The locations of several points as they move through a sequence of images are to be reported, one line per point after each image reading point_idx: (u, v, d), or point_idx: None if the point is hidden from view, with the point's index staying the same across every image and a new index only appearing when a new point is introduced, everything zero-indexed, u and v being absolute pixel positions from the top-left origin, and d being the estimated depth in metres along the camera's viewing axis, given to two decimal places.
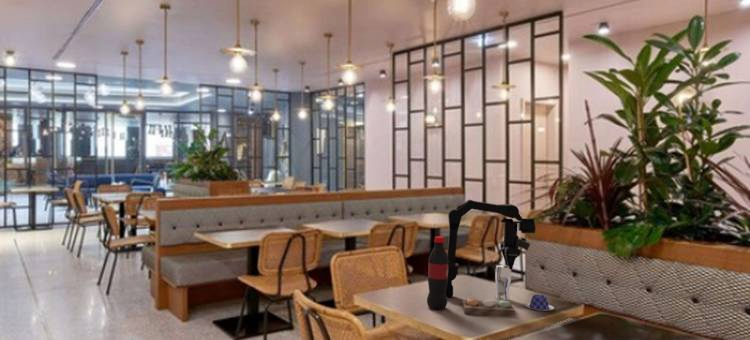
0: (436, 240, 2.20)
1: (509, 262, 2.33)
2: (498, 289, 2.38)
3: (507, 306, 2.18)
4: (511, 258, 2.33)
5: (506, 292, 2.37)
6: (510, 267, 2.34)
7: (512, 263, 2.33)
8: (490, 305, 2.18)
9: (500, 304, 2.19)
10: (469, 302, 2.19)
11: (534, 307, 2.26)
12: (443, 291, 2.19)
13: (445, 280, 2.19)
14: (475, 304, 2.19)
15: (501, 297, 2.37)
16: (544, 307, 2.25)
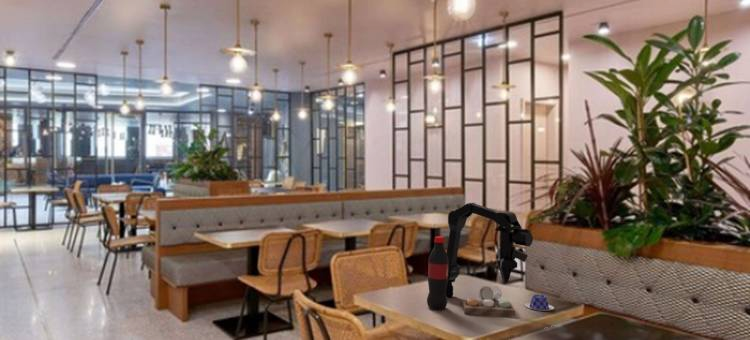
0: (436, 240, 2.20)
1: (504, 275, 2.15)
2: None
3: (507, 306, 2.18)
4: (507, 270, 2.15)
5: (498, 292, 2.34)
6: (506, 280, 2.16)
7: (507, 276, 2.15)
8: (490, 305, 2.18)
9: (500, 304, 2.19)
10: (469, 302, 2.19)
11: (534, 307, 2.26)
12: (443, 291, 2.19)
13: (445, 280, 2.19)
14: (475, 304, 2.19)
15: (499, 297, 2.36)
16: (544, 307, 2.25)
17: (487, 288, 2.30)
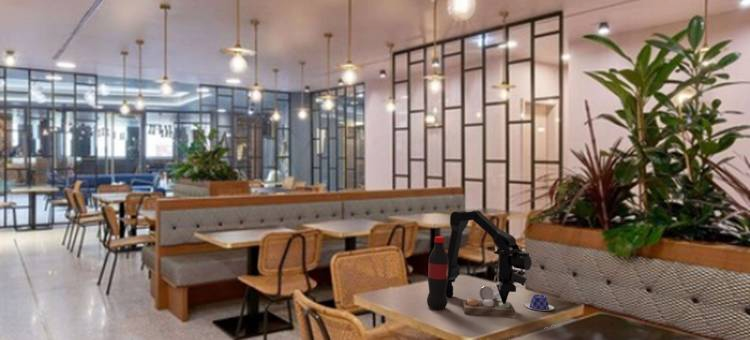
0: (436, 240, 2.20)
1: (502, 296, 2.19)
2: None
3: None
4: (504, 292, 2.18)
5: None
6: (503, 301, 2.19)
7: (505, 297, 2.19)
8: (490, 305, 2.18)
9: (500, 306, 2.19)
10: (469, 302, 2.19)
11: (534, 307, 2.26)
12: (443, 291, 2.19)
13: (445, 280, 2.19)
14: (475, 304, 2.19)
15: (499, 297, 2.36)
16: (544, 307, 2.25)
17: (487, 288, 2.30)
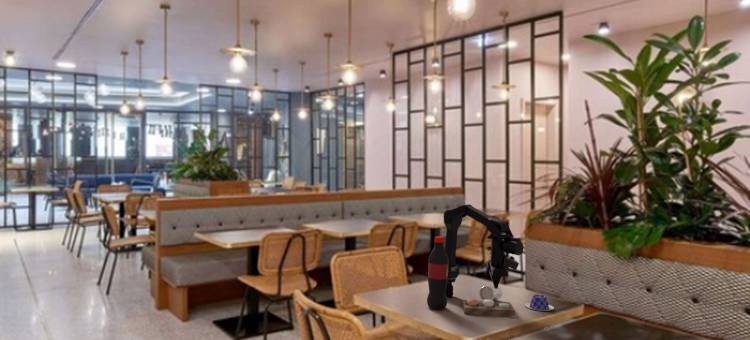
0: (436, 240, 2.20)
1: (494, 281, 2.19)
2: None
3: None
4: (496, 277, 2.19)
5: (499, 292, 2.34)
6: (495, 286, 2.20)
7: (497, 282, 2.19)
8: (490, 305, 2.18)
9: None
10: (469, 302, 2.19)
11: (535, 307, 2.26)
12: (443, 291, 2.19)
13: (445, 280, 2.19)
14: (475, 304, 2.19)
15: (499, 297, 2.36)
16: (545, 307, 2.25)
17: (487, 288, 2.30)
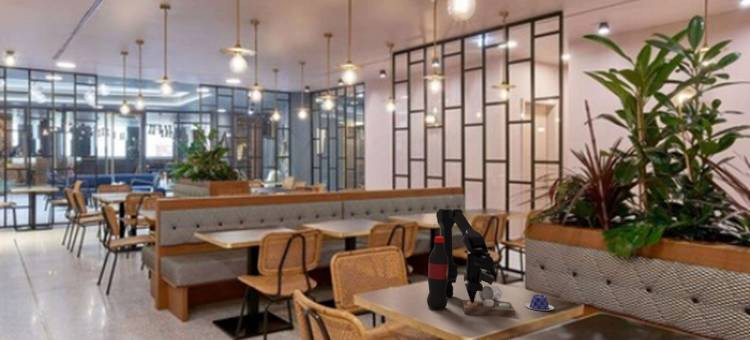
0: (436, 240, 2.20)
1: (470, 295, 2.20)
2: None
3: None
4: (472, 291, 2.20)
5: (499, 292, 2.34)
6: (471, 300, 2.20)
7: (473, 297, 2.20)
8: (490, 305, 2.18)
9: None
10: (469, 305, 2.19)
11: (535, 307, 2.26)
12: (443, 291, 2.19)
13: (445, 280, 2.19)
14: None
15: (499, 297, 2.36)
16: (545, 307, 2.25)
17: (487, 288, 2.30)
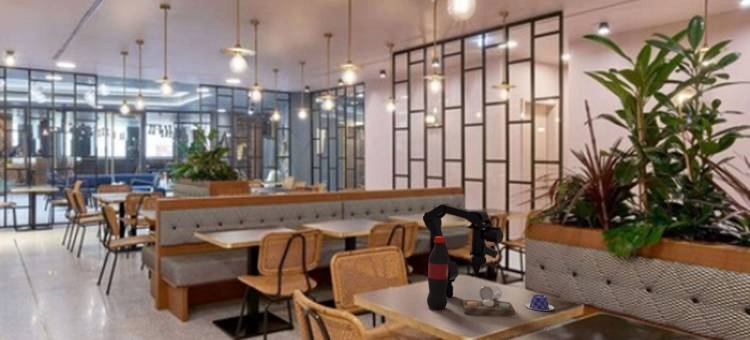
0: (436, 240, 2.20)
1: (475, 268, 2.30)
2: None
3: None
4: (477, 264, 2.29)
5: (499, 292, 2.34)
6: (476, 273, 2.30)
7: (477, 270, 2.30)
8: (490, 305, 2.18)
9: None
10: (469, 305, 2.19)
11: (535, 307, 2.26)
12: (443, 291, 2.19)
13: (445, 280, 2.19)
14: None
15: (499, 297, 2.36)
16: (545, 307, 2.25)
17: (487, 288, 2.30)
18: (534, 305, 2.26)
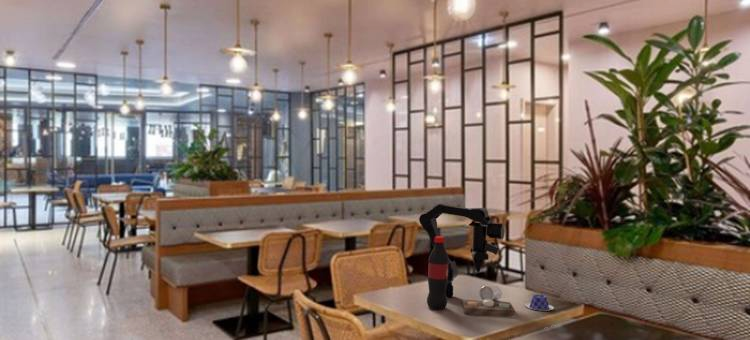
0: (436, 240, 2.20)
1: (476, 265, 2.33)
2: None
3: None
4: (478, 261, 2.33)
5: (499, 292, 2.34)
6: (477, 270, 2.34)
7: (479, 266, 2.33)
8: (490, 305, 2.18)
9: None
10: (469, 305, 2.19)
11: (535, 307, 2.26)
12: (443, 291, 2.19)
13: (445, 280, 2.19)
14: None
15: (499, 297, 2.36)
16: (545, 307, 2.25)
17: (487, 288, 2.30)
18: (534, 305, 2.26)
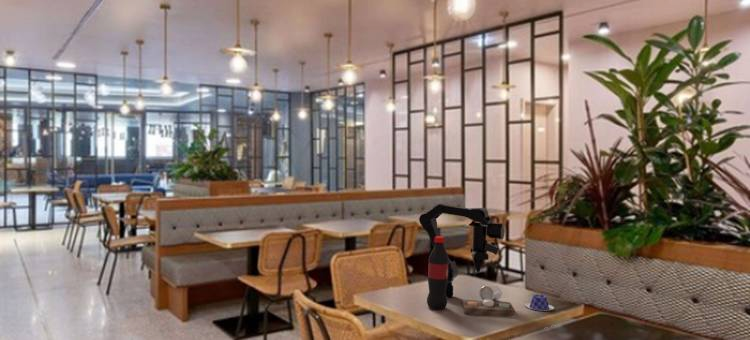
0: (436, 240, 2.20)
1: (476, 265, 2.33)
2: None
3: None
4: (478, 261, 2.33)
5: (499, 292, 2.34)
6: (477, 270, 2.34)
7: (479, 266, 2.33)
8: (490, 305, 2.18)
9: None
10: (469, 305, 2.19)
11: (535, 307, 2.26)
12: (443, 291, 2.19)
13: (445, 280, 2.19)
14: None
15: (499, 297, 2.36)
16: (545, 307, 2.25)
17: (487, 288, 2.30)
18: (534, 305, 2.26)
